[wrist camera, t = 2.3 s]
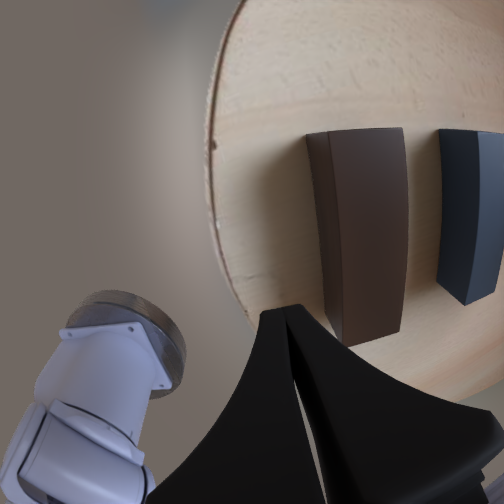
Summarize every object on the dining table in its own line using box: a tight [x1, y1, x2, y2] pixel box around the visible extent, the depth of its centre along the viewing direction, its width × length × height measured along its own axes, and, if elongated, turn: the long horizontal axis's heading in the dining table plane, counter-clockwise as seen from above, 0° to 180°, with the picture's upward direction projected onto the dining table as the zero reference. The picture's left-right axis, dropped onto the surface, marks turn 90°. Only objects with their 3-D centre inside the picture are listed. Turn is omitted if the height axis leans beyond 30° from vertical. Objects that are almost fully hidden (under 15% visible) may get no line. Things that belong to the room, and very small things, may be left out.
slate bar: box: [436, 129, 504, 306], centre depth 15 cm, size 4×12×4 cm, turn 10°
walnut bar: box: [306, 128, 408, 347], centre depth 15 cm, size 4×12×4 cm, turn 10°
